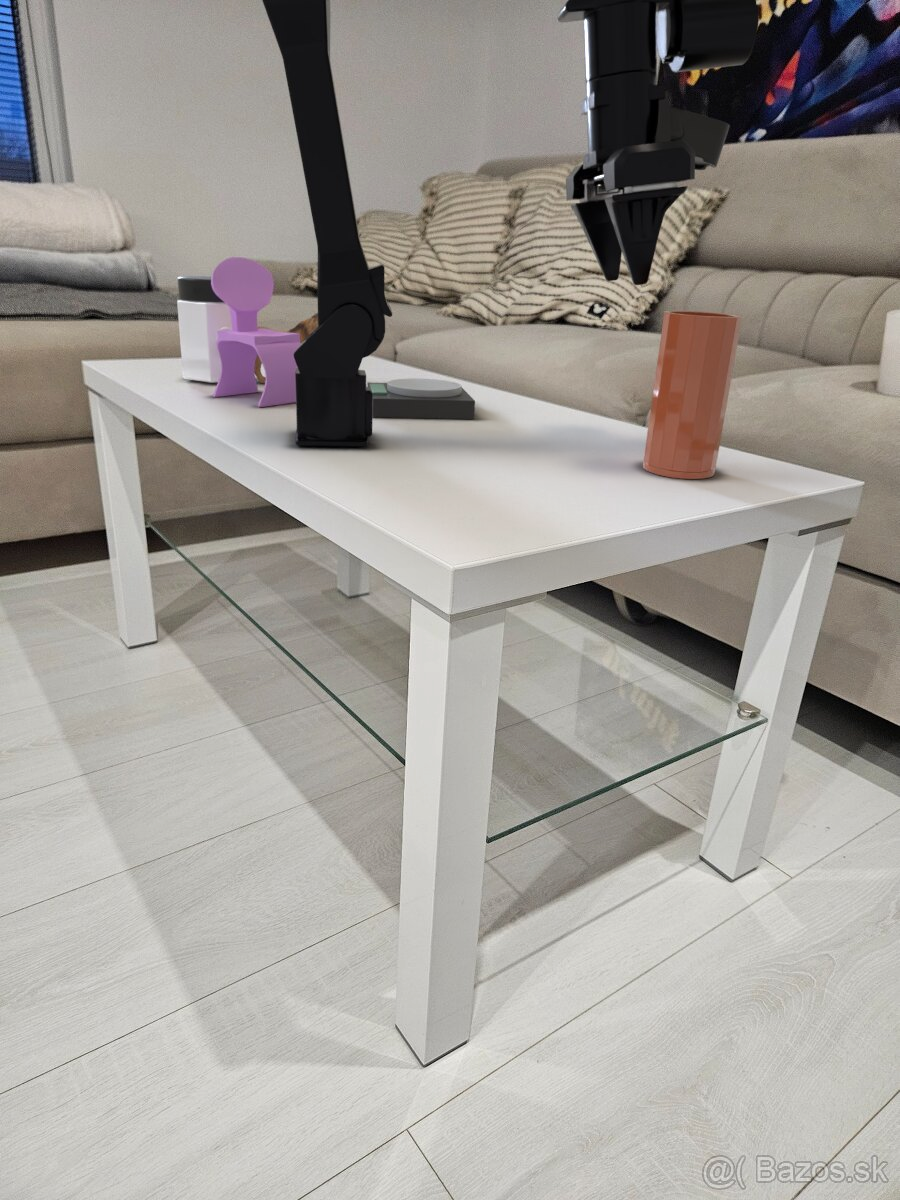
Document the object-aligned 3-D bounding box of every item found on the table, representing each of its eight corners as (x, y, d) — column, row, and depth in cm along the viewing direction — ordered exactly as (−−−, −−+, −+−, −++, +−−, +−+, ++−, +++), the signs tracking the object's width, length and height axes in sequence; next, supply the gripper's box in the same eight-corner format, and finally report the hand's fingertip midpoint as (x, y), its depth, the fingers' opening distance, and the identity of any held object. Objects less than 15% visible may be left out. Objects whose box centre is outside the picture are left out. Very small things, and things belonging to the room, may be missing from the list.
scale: (372, 417, 88) (373, 390, 87) (367, 399, 98) (367, 375, 97) (474, 419, 90) (475, 393, 89) (458, 401, 100) (459, 377, 99)
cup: (657, 478, 69) (682, 315, 64) (632, 461, 75) (653, 309, 70) (726, 479, 70) (755, 318, 65) (696, 462, 76) (721, 312, 70)
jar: (193, 384, 101) (186, 279, 96) (173, 374, 107) (165, 275, 102) (263, 380, 106) (259, 280, 101) (239, 371, 112) (234, 277, 107)
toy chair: (255, 409, 89) (248, 259, 83) (205, 397, 94) (195, 255, 88) (312, 401, 95) (309, 261, 89) (262, 390, 100) (257, 257, 94)
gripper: (767, 41, 59) (758, 274, 65) (680, 88, 76) (679, 269, 82) (613, 59, 59) (619, 291, 65) (560, 101, 76) (569, 282, 82)
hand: (625, 282), depth 73 cm, fingers open, 9 cm apart
